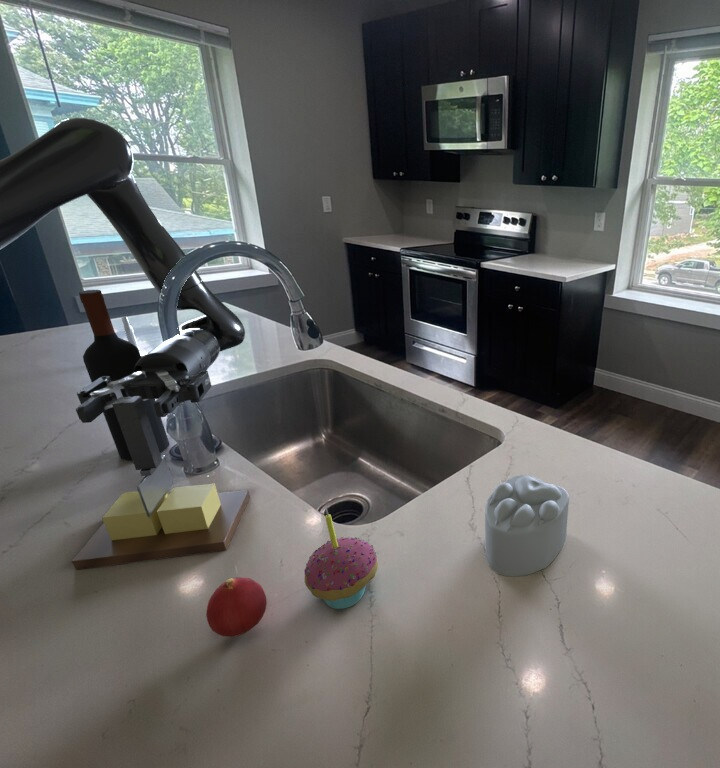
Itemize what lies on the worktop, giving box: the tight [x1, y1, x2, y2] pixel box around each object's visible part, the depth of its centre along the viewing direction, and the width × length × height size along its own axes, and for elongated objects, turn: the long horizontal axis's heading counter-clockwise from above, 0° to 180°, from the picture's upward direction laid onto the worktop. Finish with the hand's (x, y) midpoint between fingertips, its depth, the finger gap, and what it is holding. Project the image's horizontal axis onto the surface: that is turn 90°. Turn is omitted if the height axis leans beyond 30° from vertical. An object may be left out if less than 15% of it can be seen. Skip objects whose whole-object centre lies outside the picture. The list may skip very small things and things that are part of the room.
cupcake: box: [304, 508, 379, 610], centre depth 56 cm, size 9×8×12 cm
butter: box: [101, 483, 221, 540], centre depth 67 cm, size 12×6×4 cm, turn 103°
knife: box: [112, 396, 175, 517], centre depth 63 cm, size 2×8×16 cm, turn 13°
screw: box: [121, 315, 148, 357], centre depth 124 cm, size 13×5×5 cm
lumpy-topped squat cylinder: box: [484, 474, 570, 577], centre depth 66 cm, size 10×13×9 cm
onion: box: [205, 576, 268, 638], centre depth 52 cm, size 6×6×8 cm
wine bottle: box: [78, 289, 170, 462], centre depth 82 cm, size 8×8×30 cm
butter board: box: [71, 489, 251, 571], centre depth 68 cm, size 18×12×2 cm, turn 103°
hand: (121, 413), depth 59 cm, fingers open, 8 cm apart
